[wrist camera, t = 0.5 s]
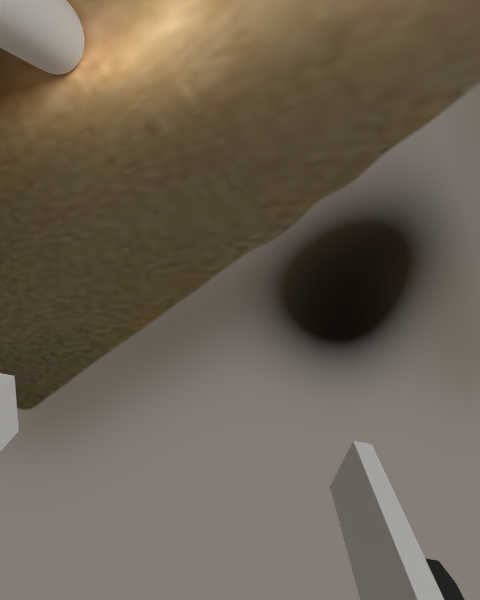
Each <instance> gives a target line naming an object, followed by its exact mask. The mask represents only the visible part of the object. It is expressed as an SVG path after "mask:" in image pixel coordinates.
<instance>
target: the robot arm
mask: <svg viewBox="0 0 480 600" xmlns="http://www.w3.org/2000/svg"><path fill="white" fill-rule="evenodd" d="M18 431H19V428H18V417H17V403H16V391H15V379H14V376H12V375H7V374H1V373H0V451H1V450H2V449H3V448H4V447H5V446H6V445H7V443H8V442H9V441H10V440H11V439H12V438H13V437H14V436H15V435H16V433H17V432H18ZM330 489H331V492H332V496H333V500H334V503H335V507H336V511H337V514H338V519H339V522H340V526H341V530H342V533H343V537H344V541H345V545H346V548H347V552H348V556H349V559H350V563H351V567H352V571H353V574H354V578H355V582H356V585H357V589H358V593H359V596H360V600H464V598H463V596H462V594H461V592H460V590H459V588H458V586H457V584H456V583H455V581H454V580H453V579H452V578H451V576H450V575H449V574H448V572H447V571H446V570H445V569H444V567H443V566H442V565H441V563H440V562H439V561H436V560H430V559H425V557H424V555H423V553H422V551H421V549H420V547H419V545H418V543H417V540H416V538H415V536H414V534H413V532H412V530H411V527H410V526H409V523H408V521H407V519H406V517H405V515H404V513H403V510H402V508H401V506H400V504H399V502H398V500H397V498H396V495H395V493H394V491H393V489H392V487H391V485H390V483H389V481H388V478H387V476H386V474H385V472H384V470H383V468H382V466H381V464H380V461H379V459H378V457H377V455H376V453H375V451H374V448H373V446H372V445H371V444H367V443H362V442H356V441H353V443H352V445H351V447H350V449H349V450H348V452H347V454H346V457H345V458H344V460H343V463H342V464H341V466H340V468H339V470H338V472H337V474H336V476H335V478H334V480H333V482H332V484H331V486H330Z"/></svg>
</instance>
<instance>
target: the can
mask: <svg viewBox="0 0 480 600" xmlns="http://www.w3.org/2000/svg"><path fill="white" fill-rule="evenodd" d="M0 48H2V49H3V50H5V51H7V52H9V53H11V54H13V55H15V56H16V57H18V58H20V59H22V60H24V61H26V62H28V63H30V64H31V65H33V66H35V67H37V68H39V69H41V70H43V71H45V72H48V73H51V74H65V73H68V72H70V71H71V70H73V69H74V68H75V67H76V66H77V65H78V63H79V62H80V60H81V57H82V54H83V50H84V32H83V28H82V25H81V22H80V20H79V18H78V16H77V14H76V12H75V11H74V9H73V8H72V6H71V5H70V4H69V3H68V2H67V0H0Z"/></svg>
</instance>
